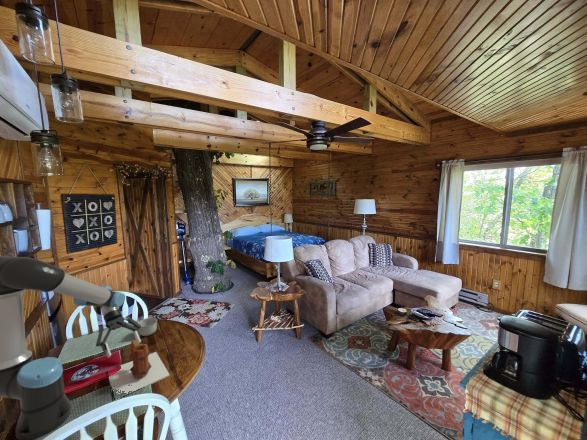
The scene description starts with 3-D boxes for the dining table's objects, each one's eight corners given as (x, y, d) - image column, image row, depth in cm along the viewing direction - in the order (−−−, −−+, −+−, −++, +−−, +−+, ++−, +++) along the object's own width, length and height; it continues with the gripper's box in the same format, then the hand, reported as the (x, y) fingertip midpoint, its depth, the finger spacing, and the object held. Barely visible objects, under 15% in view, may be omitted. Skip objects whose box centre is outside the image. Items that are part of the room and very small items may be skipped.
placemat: (114, 401, 103) (114, 400, 103) (107, 371, 121) (107, 370, 121) (169, 375, 119) (169, 374, 118) (156, 352, 136) (156, 351, 136)
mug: (154, 374, 118) (152, 345, 117) (135, 384, 112) (133, 353, 111) (143, 361, 128) (141, 334, 126) (125, 369, 122) (123, 341, 120)
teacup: (155, 327, 162) (154, 315, 162) (159, 333, 155) (159, 322, 154) (130, 334, 153) (130, 322, 152) (133, 342, 145) (133, 329, 144)
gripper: (134, 307, 143) (147, 340, 137) (80, 325, 122) (93, 365, 116) (138, 301, 140) (152, 334, 133) (84, 319, 119) (97, 359, 112)
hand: (125, 349), depth 124 cm, fingers open, 13 cm apart
